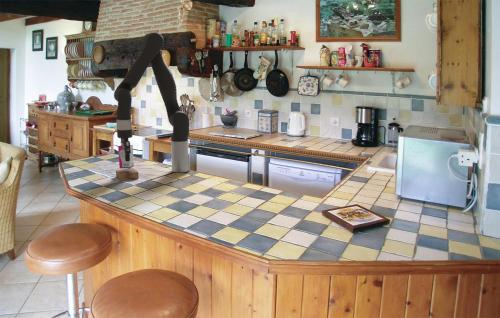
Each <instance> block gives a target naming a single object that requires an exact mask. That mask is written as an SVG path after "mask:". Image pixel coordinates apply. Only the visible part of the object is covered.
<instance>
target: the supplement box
mask: <svg viewBox="0 0 500 318" xmlns="http://www.w3.org/2000/svg"><path fill="white" fill-rule="evenodd" d="M133 146H134V145H133V144H130V151H131V153H130V161H125V152H124V150H123V146H122V145H121V144H120V145H119V146H117V149H118V153H117V154H118V163H119V164H118V166H119V167H118V168H119V169H131V168H133V167H135V162H134V147H133ZM124 148H125V147H124ZM126 151H128V150H126Z"/></svg>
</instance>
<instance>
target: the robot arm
mask: <svg viewBox="0 0 500 318" xmlns="http://www.w3.org/2000/svg"><path fill="white" fill-rule="evenodd" d="M141 44H142V47H143V50H142V51H141V53H140V55H139V56H138V58H137V59H136V60H135V61H134V62H133V64H132V65H131V66H130V67H129V69H128V71H127V72H126V74H125V76H124V77H123V79H122V80H121V82H120V83H119V84H118V86H117V87H116V88H115V91H114V92H113V98H114V100H115V101H116V102H117V108H116V111H115V112H116V136H117V138H118V139H120V146H121V145H122V146H123V150H124V152H125V161H130V153H131V151H130V145H131V142H130V140H129V139H131V138H132V137H133V136H134V135H133V134H134V133H133V123H132V113H131V112H132V111H131V110H132V102H133V101H132V100H133V99H132V94H131V92H132V91H133V89H134V88H136V87H137V86H138V84H139V83H140V81H141V79H142V78H143V75H144V74H145V72H146V70H147V69H148V67H149V65H150V66H151V70H152V72H153V75H154V78H155V82H156V84H157V88H158V90H159V93H160V95H161V98H162V101H163V103H164V107H165V110H166V111H165V112H166V115H167V119H168V122H169V124H170V125H171V127H172V134H171V136H170V146H171V149H170V150H171V151H170V152H171V172H173V173H186V172H190V171H191V167H190V165H191V164H190V163H191V162H190V159H191V157H190V153H189V135H190V119H189V118H190V117H189V115H188V114H187V113H185V111H182V109H181V108H180V105H179V103H178V94H177V92H178V91H177V90H178V89H177V85H176V81H175V77H174V75H173V73H172V71H171V69H170V68H169V65H168V64H167V63H166V61H165V59H164V57H163V55H162V49H163V47H164V45H165V40H164V37H163V35H161V34H160V33H159V32H150V33H146V34H145V35H143V37H142V41H141ZM124 147H125V148H124ZM126 150H128V151H126Z"/></svg>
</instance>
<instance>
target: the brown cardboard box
mask: <svg viewBox="0 0 500 318" xmlns="http://www.w3.org/2000/svg"><path fill="white" fill-rule="evenodd" d="M115 178H117V179H118V180H119V181H120V182H126V181H132V180H138V178H139V171H138V170H136V169H134V168H133V167H132V168H130V169H128V168H122V169H117V170H115Z"/></svg>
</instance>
